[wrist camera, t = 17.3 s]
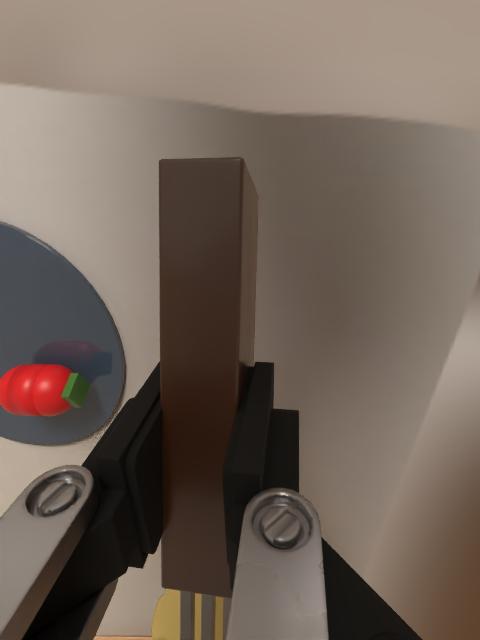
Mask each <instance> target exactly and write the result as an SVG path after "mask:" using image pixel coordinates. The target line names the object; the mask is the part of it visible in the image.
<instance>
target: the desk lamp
mask: <svg viewBox="0 0 480 640" xmlns="http://www.w3.org/2000/svg"><path fill="white" fill-rule="evenodd" d="M93 640H152V637H121V636H95V637H94V639H93Z"/></svg>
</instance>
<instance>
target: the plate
mask: <svg viewBox="0 0 480 640" xmlns="http://www.w3.org/2000/svg"><path fill="white" fill-rule="evenodd" d="M24 364H57V365H62V366H65V367H67V368H69V369H70V370H72V371H73V372H74V373H79V374H80V375H81V376H82V377H83V378H84V379H85V380H86V381H87V382H88V383H89V384H90V388H89V390H88V393H87V396H86V398H85V401H84V404H83V406H82V408H75V407H73V406H72V407H71V408H70V409H68V410H67V411H65V412H64V413H62V414H59V415H56V416H22V415H15V414H12V413H10V412H8V411H6V410H5V409H4V408H3V407H2V406H1V405H0V436H1V437H4V438H7V439H10V440H14V441H18V442H22V443H28V444H35V445H58V444H65V443H69V442H74V441H77V440H79V439H82V438H84V437H86V436H88V435H90V434H91V433H93V432H95V431H96V430H97V429H99V428H100V427H101V426H102V425H103V424H104V423H105V422H106V421H107V420H108V418H109V417H110V416H111V415H112V413H113V412H114V410H115V408H116V406H117V405H118V403H119V400H120V397H121V394H122V391H123V385H124V379H125V362H124V354H123V348H122V344H121V341H120V337H119V334H118V331H117V329H116V326H115V324H114V321H113V319H112V317H111V315H110V313H109V311H108V310H107V308H106V306H105V304H104V302H103V301H102V299H101V298H100V296H99V295H98V294H97V292H96V291H95V289H94V288H93V287H92V285H91V284H90V283H89V282H88V281H87V280H86V278H85V277H84V276H83V275H82V274H81V273H80V271H79V270H78V269H76V268H75V267H74V266H73V265H72V264H71V263H70V262H69V261H68V260H67V259H66V258H65V257H64V256H62V255H61V254H60V253H58V252H57V251H56V250H54V249H53V248H52V247H50V246H49V245H48V244H46V243H44V242H43V241H41V240H40V239H38V238H36V237H35V236H33V235H31V234H29V233H27V232H25V231H23V230H21V229H19V228H17V227H14V226H12V225H9V224H6V223H3V222H0V379H1V378H2V376H3V375H4V374H5V373H6V372H7V371H9V370H10V369H12V368H14V367H16V366H19V365H24Z"/></svg>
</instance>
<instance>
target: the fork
mask: <svg viewBox="0 0 480 640" xmlns="http://www.w3.org/2000/svg"><path fill="white" fill-rule="evenodd" d="M258 202H259V195H258V192H257V190H256V188H255V185H254V183H253V181H252V178H251V176H250V174H249V171H248V169H247V167H246V164H245V162H244V159H243V158H241V157H232V158H194V159H162V160H160V161H159V250H160V406H161V408H162V457H163V534H162V536H161V572H162V587H163V588H165V589H172V590H178V591H180V640H195V593H196V594H202V596H201V640H215V616H216V597H221V598H224V599H223V640H226V635H227V628H228V621H229V614H230V607H231V600H232V593H233V592H232V590H231V589H230V572H229V565H228V564H227V549H226V533H225V516H224V499H223V482H222V476H223V465H224V459H225V455H226V451H227V447H228V443H229V439H230V435H231V431H232V427H233V423H234V419H235V415H236V413H237V412H238V410H239V406H240V402H241V398H242V394H243V389H244V385H245V381H246V377H247V373H248V368H249V366H253V367H254V338H255V304H256V270H257V236H258Z"/></svg>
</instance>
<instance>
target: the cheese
mask: <svg viewBox="0 0 480 640" xmlns="http://www.w3.org/2000/svg"><path fill="white" fill-rule="evenodd" d="M201 596H202V594H196V593H195V640H201ZM223 599H224V598H221V597H216V616H215V640H223ZM151 634H152V636H151V637H152V640H180V591H178V590H172V589H166V592H165V594H164V595H163V596H161V597H160V598H159V600H158V602H157V605H156V608H155V612H154V616H153V622H152V629H151Z"/></svg>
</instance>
